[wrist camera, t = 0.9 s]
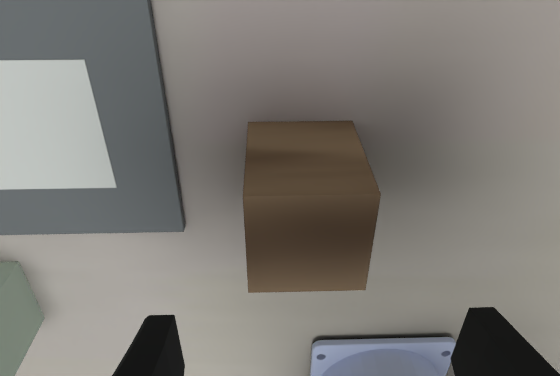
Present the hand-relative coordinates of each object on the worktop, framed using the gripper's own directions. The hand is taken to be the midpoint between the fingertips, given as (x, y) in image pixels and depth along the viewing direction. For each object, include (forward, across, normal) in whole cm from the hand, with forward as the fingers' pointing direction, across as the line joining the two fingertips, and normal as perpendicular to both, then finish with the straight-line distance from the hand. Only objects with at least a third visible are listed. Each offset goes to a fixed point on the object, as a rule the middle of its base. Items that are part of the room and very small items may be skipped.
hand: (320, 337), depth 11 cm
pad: (+8, +10, -2) cm, 13 cm away
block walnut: (+8, 0, 0) cm, 8 cm away
